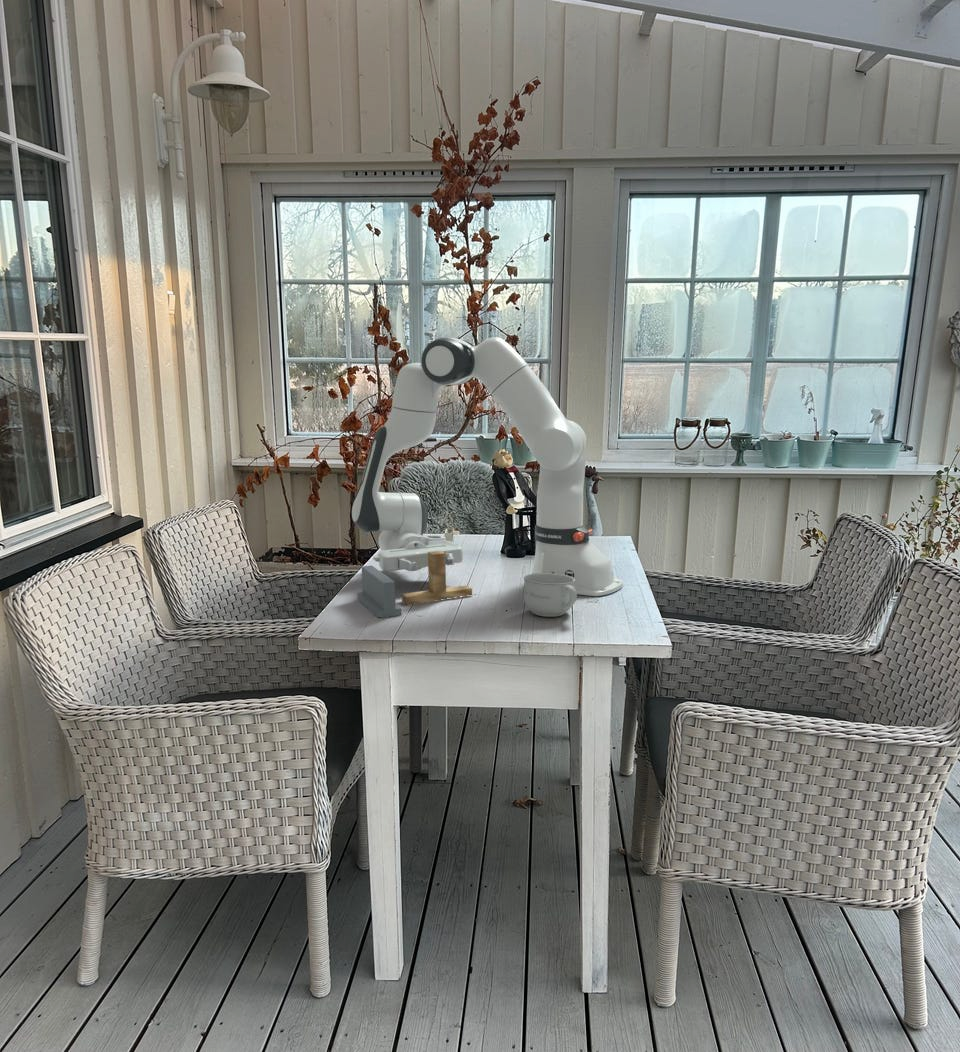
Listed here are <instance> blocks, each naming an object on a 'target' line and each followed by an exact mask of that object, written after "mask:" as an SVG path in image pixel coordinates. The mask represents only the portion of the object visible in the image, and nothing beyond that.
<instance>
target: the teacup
mask: <svg viewBox="0 0 960 1052" xmlns="http://www.w3.org/2000/svg"><path fill="white" fill-rule="evenodd" d="M523 579H524V587H523V591H524V592H523V596H524V597H523V599H524V604H525V606H526V607H527V608H528V610H530V611H531V613H532V614H534V615H536V616H541V617H547V618H549V617H552V618H553V617H560V616H563V615H564V614H565V613H566V612H568V611H570V609H571V608H572V606H574V604H575V603H576V602H577V598H578V594H577V593H576V590H575V588H574V583H575V579H574V578H573V577H571V576H567V575H562V574H555V573H535V574H532V573H530V574H526V575H525V576H524V577H523Z"/></svg>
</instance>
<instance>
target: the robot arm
mask: <svg viewBox="0 0 960 1052" xmlns="http://www.w3.org/2000/svg"><path fill="white" fill-rule="evenodd" d="M474 379H477V380H478V381H479V382H481V383H482V384H483V385H484V386H485V388H486V390H487V391H488V392H489V393H490V394H491V396H492V398H494V400H495V401H496V402H497V403H498V405H499V406H500V407H501V409H502V410H503V411H504V413H505V414H506V415H507V416H508V418H509V419H510V420H511V422H512V423H513V425H514V427H515V428H516V430H517V432H518V433H519V435H520V437H521V438H522V441H524V443H525V445H526V447H528V450H529V451H530V452H531V454H532V456H533V457H534V458H535V461H536V462H537V463H538V465H539V476H538V483H537V490H536V524H535V525H534V542H535V544H534V545H535V554H534V562H533V567H532V571H531V574H535V573H555V574H562V575H567V576H571V577H573V578H574V579H575V583H574V588H575V590H576V593H577V595H579V596H580V595H581V596H591V597H599V596H600V597H601V596H605V595H610V594H613V593H614V592H616V591H618V590H621V588H622V587H623V586H624V582H623V580H622V579H620V578H616V577H614V567H613V563H612V560H611V559H610V558H609V557H608V556H606V555H605V554H604V553H603V552H602V551H600V549H599V548H598V547H596V546H595V545H594V544H593V543H592V542H591V541H590V535H592V534H593V532H592V531H593V529H592V528H590V529H587V528H586V527H585V525H584V524H583V521H584V517H583V516H584V489H585V488H584V487H585V476H586V475H585V474H586V461H587V460H586V459H587V436H586V433H585V430H583V428H582V427H581V426H580V425H579V424H578V423H576V422H575V421H572V420H569V419H567V418H566V416H565V415H564V414H563V412H562V411H561V409H560V408H559V407H558V405H557V403H556V402H555V400H554V398H553V397H552V395H551V392H550V391H549V389H548V388H547V387H546V386H545V385H544V384H543V381H541V379H540V378H539V376H537V374H536V373H535V372H534V371H533V369H532V368H531V367H530V365H529V364H528V363H527V362H526V361H525V360H524V358H523V357H522V356H521V355H520V354H519V353H518V352H517V351H516V350H515V348H513V347H512V345H511V344H509V343H508V342H507V341H505V340H504V339H503V338H502V337H499V336H498V337H497V336H492V337H489V338H486V339H484V340H483V341H481V342H480V343H478V344H477V345H475V346H474V345H473V343H471V342H469V341H466V340H464V339H463V340H462V339H460V338H456V337H440V338H436V339H434V340H432V341H430V342H429V343H428V344H427V345H426V347H424V350H423V351H422V354H421V360H420V362H411V363H407V364H405V365H404V366H402V367H401V368H400V370H399V371H398V375H397V378H396V382H395V386H394V390H393V396H392V402H391V410H390V414H389V416H388V419H387V420H386V422H385V424H384V425H383V426H381V427H379V428H378V429H377V430H376V431H375V433H374V436H373V437H372V441H371V443H370V446H369V451H368V454H367V459H366V463H365V466H364V469H363V473H362V477H361V480H360V483H359V486H358V490H357V493H356V494H355V497H354V500H353V504H352V506H351V507H352V508H351V520H352V521H353V523H354V525H355V526H357V528H358V529H360V530H361V531H362V532H364V533H372V532H380V533H379V536H378V546H379V548H380V551H379V552H378V554H377V555H373V557H372V559H373V561H374V562H378V566H379V568H380V569H381V570H382V571H383V572H393V571H402V570H405V571H409V572H416V571H417V572H418V571H420V570H421V569H425V568H428V552H432V551H442V552H444V553H445V564H446V566H454V565H455V564H460V563H462V562H463V560H464V549H463V547H462V546H460V545H459V544H458V543H456V542H454V541H453V542H451V541H446V538H445V536H439V535H424V534H425V531H426V529H427V524H428V518H429V517H428V514H429V513H428V508H427V506H426V503H425V502H424V501H423V499H422V497H421V496H420V495H419V494H418V493H416V492H415V493H413V492H384V491H383V492H381V491H380V487H381V482H382V480H383V475H384V471H385V468H386V464H387V462H388V461H389V459H390V458H391V457H392V456H393V455H395V454H397V453H399V452H401V451H403V450H406V449H409V448H412V447H416V446H418V445H420V444H422V443H424V442H425V441H426V440H427V439H428V438H429V437H431V435H432V434H433V431H434V430H435V425H436V422H437V420H436V419H437V411H438V402H439V396H440V393H441V391H442V390H443V389H444V387H452V386H459V385H463V384H467V383H469V382H471V381H472V380H474Z"/></svg>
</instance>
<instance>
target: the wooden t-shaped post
mask: <svg viewBox="0 0 960 1052" xmlns="http://www.w3.org/2000/svg"><path fill="white" fill-rule="evenodd" d="M446 566H447V565H446V564H445V553H444V552H442V551H432V552H428V567H427V569H428V589H427V590H423V591H421V590H420V591H413V592H406V593H401V602H402V603H403V602H404V603H405V604H404V603H403V604H404V605H406V606H409V605H408V604H412V605H415V604H414V603H419V604H423V603H422V602H426V603H430V602H429V601H434V602H436V601H435V600H441V599H447V598H454V597H460V596H467V595H472V596H473V588H472V587H470V586H469V585H457V586H453V587H447V580H446V579H447V574H446V573H447V572H446V571H447V570H446V568H447V567H446ZM441 601H442V600H441Z"/></svg>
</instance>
